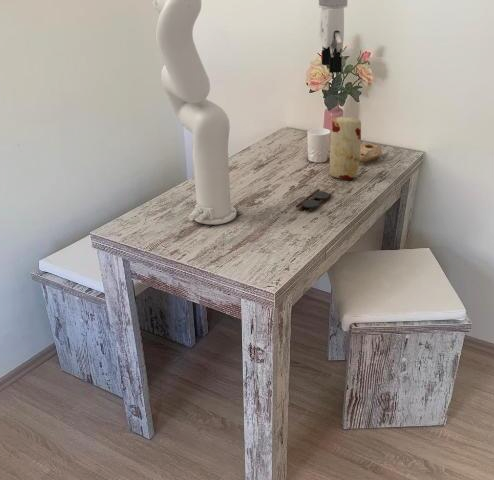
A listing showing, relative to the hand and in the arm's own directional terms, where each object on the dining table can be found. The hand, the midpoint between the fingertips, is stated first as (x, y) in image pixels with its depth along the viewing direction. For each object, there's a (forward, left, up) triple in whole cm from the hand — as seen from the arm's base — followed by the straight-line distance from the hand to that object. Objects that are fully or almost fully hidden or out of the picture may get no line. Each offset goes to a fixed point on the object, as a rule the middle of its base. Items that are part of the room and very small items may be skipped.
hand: (331, 68), depth 161 cm
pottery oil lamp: (+29, -1, -36) cm, 47 cm away
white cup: (+22, +14, -36) cm, 45 cm away
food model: (+11, -1, -36) cm, 38 cm away
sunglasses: (-11, -2, -36) cm, 38 cm away
